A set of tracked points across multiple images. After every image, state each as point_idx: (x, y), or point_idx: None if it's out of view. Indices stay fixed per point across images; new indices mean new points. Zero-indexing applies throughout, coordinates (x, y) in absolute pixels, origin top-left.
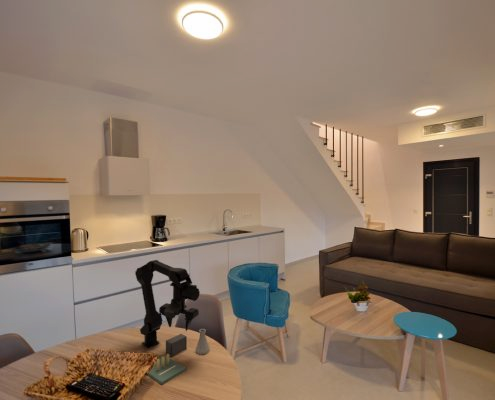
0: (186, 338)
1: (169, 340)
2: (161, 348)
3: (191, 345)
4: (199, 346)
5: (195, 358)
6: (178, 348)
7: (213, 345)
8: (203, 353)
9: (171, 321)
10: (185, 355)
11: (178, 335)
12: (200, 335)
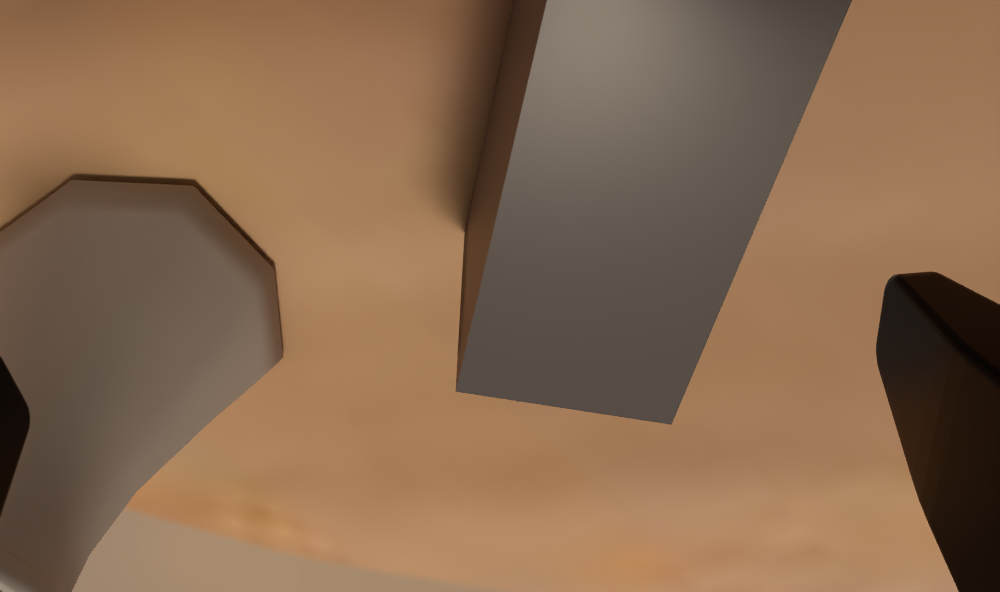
0: (459, 356)
1: (752, 40)
2: (975, 9)
3: (453, 340)
4: (75, 286)
5: (32, 37)
6: (503, 79)
7: None
8: (21, 222)
9: (973, 561)
10: (296, 31)
11: (673, 343)
12: (13, 487)
